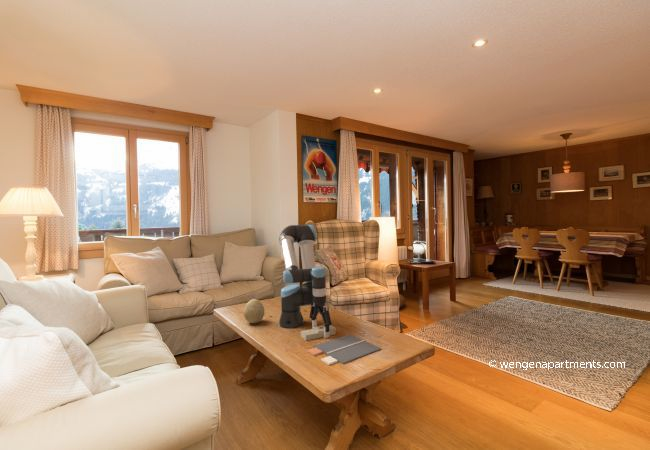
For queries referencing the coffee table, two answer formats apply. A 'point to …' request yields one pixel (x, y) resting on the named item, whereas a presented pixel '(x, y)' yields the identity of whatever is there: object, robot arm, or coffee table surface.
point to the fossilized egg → (254, 311)
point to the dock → (343, 349)
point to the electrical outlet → (316, 332)
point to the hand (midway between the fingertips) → (320, 334)
